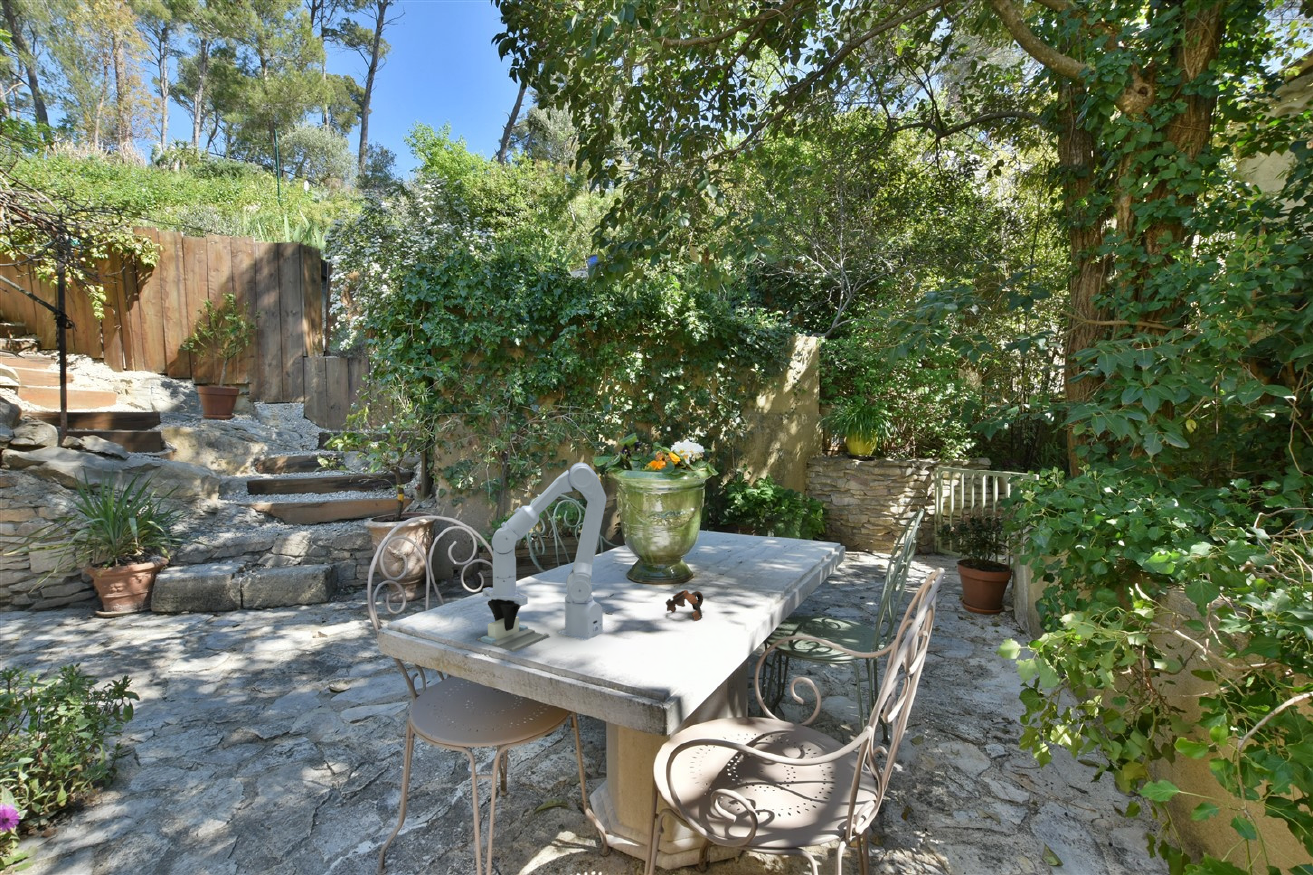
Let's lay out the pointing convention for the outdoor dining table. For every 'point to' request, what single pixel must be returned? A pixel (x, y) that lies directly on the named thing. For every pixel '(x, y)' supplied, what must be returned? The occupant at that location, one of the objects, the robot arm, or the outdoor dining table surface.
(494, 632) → the cream foam block
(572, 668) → the outdoor dining table surface
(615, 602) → the outdoor dining table surface
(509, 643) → the duct plate
